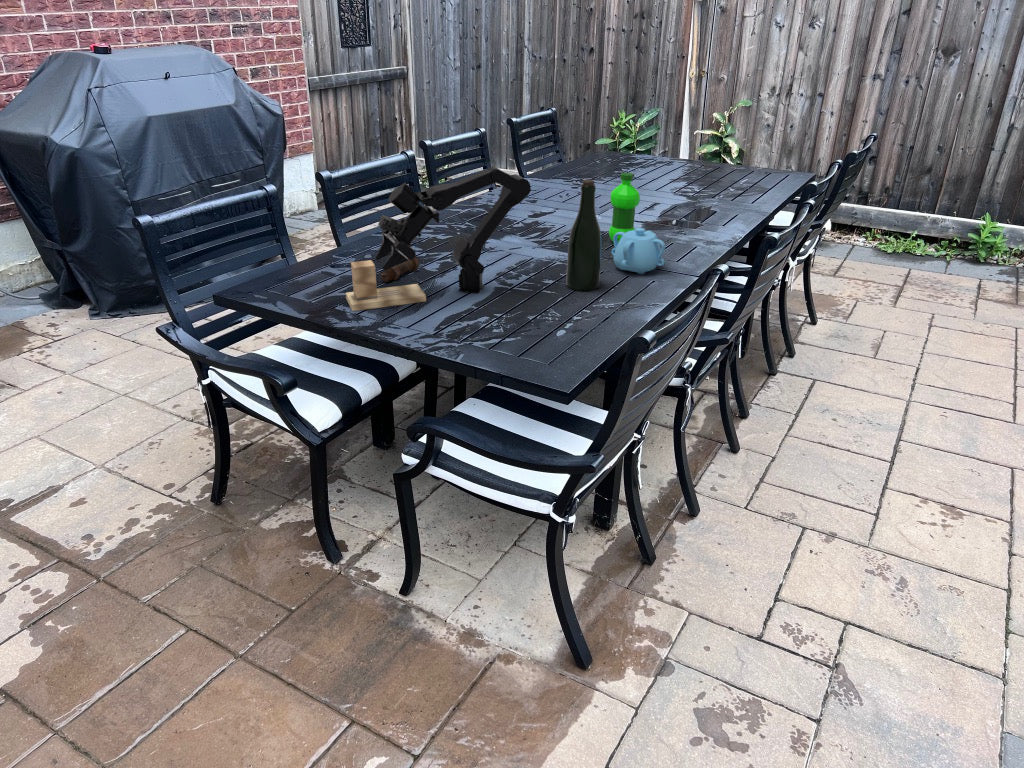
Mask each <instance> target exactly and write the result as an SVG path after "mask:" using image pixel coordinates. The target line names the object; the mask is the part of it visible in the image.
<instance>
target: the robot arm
mask: <svg viewBox="0 0 1024 768" xmlns="http://www.w3.org/2000/svg"><path fill="white" fill-rule="evenodd" d="M493 184H498V185H500V186H502V187H501V190H500V194H499V197H498V199H497V201H495V203H494V204H493V206H492V207H491V209H490V210H489V211H488V213H487V214H486V215H485V216H484V218H483V219H482V221H481V222H480V223H479V224H478V226H477V227H476V229H475V230H474V232H473V233H472V234H471V235H470V236H469V237H467V238H464V237H463V236H461V237H460V239H459V240H458V242H457V243H456V244H455V245H454V246H453V251H452V257H453V260H454V261H455V263H457V265H459V267H460V268H461V269H460V271H459V274H458V287H459V288H458V291H459V292H465V293H473V294H474V293H475V294H479V293H480V292H481V291H482V290H483V288H484V287H485V284H483V273H484V270H485V266H484V265H483V264H482V263H481V262H480V261H479V260H480V257H481V253H482V251H483V247H484V246H485V244H486V242H487V241H488V240H489V239H490V238H491V236H493V233H494V232H495V231H496V229H497V228H498V227H499V225H500V224H501V223H502V221H503V220H504V219H505V217H506V216H507V214H509V212H510V211H511V210H512V208H514V207H516V206H517V205H519V204H520V203H522V202H523V201H524V200H525V199H526V198H527V197H528V196H529V195H530V193H531V190H532V189H531V188H532V187H531V183H530V182H529V180H527V179H526V178H525V177H522V176H521V175H519V174H509V173H507V172H505V171H503V170H501V169H499V168H498V167H496V166H490V167H487V169H485V170H482V171H479V172H476V173H473V174H472V175H471V174H470V176H467V177H464V178H462V179H459V180H457V181H455V182H452V183H451V182H450V183H442V184H437V185H436V184H435V185H431V186H430V187H428V188H427V189H426V190H423V191H418V192H415V191H414V190H412V189H411V187H410V186H409V185H408V184H407V183H406V182H403V183H402V185H399V186H398V187H396V188H394V189H393V190H392V191H391V193H390V195H389V196H388V202H390V203H391V204H392V205H393V206H394V207H396V209H398V210H399V211H400V212H401V213H403V214H404V215H405V214H408V215H407V217H406V218H404V217H403V218H400V220H397V219H395V218H393V217H390V216H387V215H384V214H381V216H380V219H379V221H378V224H377V226H379V228H380V229H381V231H382V232H381V236H382V242H381V245H380V247H379V249H378V251H377V253H376V255H375V256H374V257H375V258H374V259H375V260H377V261H379V260H381V259H383V258H385V257H386V256H387V255H389V256H388V258H387V259H386V261H385V262H383V263H384V264H383V266H382V267H381V269H382V270H383V271H386V270H387V269H389V268H391V267H394V266H396V265H398V264H401V263H403V262H406V261H409V260H411V261H412V260H413V259H414V258H415V257H417V256H416V255H417V254H416V251H415V249H414V248H413V245H412V243H413V242H414V241H415V239H416V238H420V237H422V233H421V232H423V230H424V229H425V228H426V227H427V225H429V224H430V222H431V221H432V220H434V221H435V222H436V223H437V224H439V223H440V212H439V211H443V210H445V209H448V208H449V207H450V206H452V205H453V204H454V203H455V202H456V201H457V200H459V199H461V198H462V197H464V196H466V195H469V194H472V193H474V192H476V191H478V190H481V189H483V188H486V187H489V186H490V185H493ZM419 202H421V203H419ZM422 205H423V206H422ZM430 207H431V208H432V209H434V210H435V211H434V210H432V209H431V208H430ZM408 259H409V260H408Z"/></svg>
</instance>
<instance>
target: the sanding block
mask: <svg viewBox="0 0 1024 768" xmlns="http://www.w3.org/2000/svg"><path fill="white" fill-rule="evenodd" d="M350 267H351V277H352V278H351V279H352V288H353V290H352V291H353V292H354V296H355V297H356V299H357V301H358V300H366V299H374V298H378V297H377V289H378V288H377V287H378V286H377V275H376V266H375V263H374V262H373V261H372V260H371V259H369V260H368V259H367V260H359V261H352V262H350Z"/></svg>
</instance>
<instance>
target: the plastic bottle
mask: <svg viewBox="0 0 1024 768" xmlns="http://www.w3.org/2000/svg"><path fill="white" fill-rule="evenodd" d="M620 180H621V184H619V185H618V186H616V187H615V188H614V189H613V190H612V191H611V193H610V196H609V197H610V203H611V204H612V206H613V207H612V218H611V219H612V220H611V222H612V223H611V225H610V226H609V228H608V236H609V238H610V240H611V242H613V237H614V235H615V234H616V233H618V232H624V233H626V232H628V231H632V230H635V229H636V228H635V226H634V225H635V215H636V214H635V213H636V208H637V207H638V206H639V203H640V200H641V196H640V193H639V191H638V190H637V188H635V186H634V185H632V181H633V180H634V174H633V173H631V172H630V173H629V172H622V173H621V174H620ZM621 237H622V235H618V237H617V241H618V243H619V241H620V239H621Z"/></svg>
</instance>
